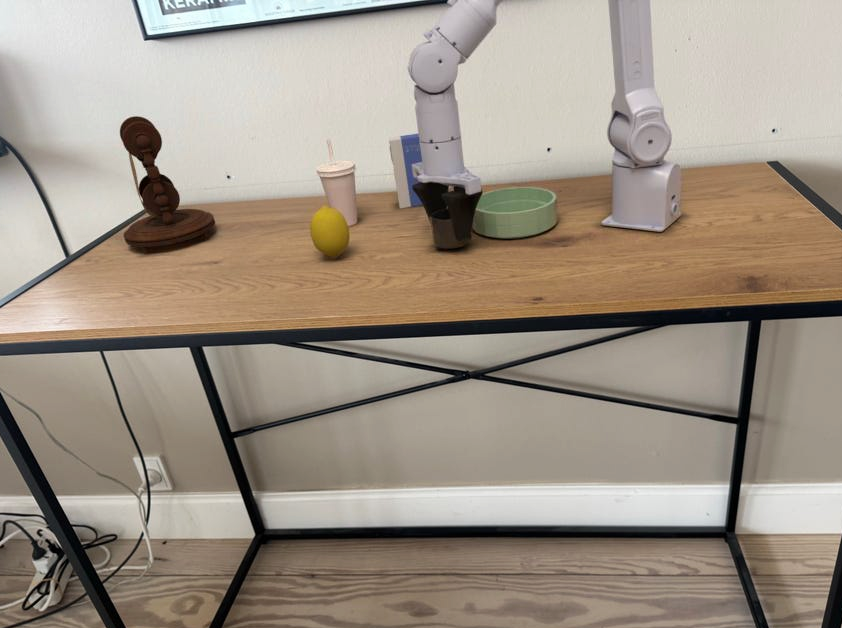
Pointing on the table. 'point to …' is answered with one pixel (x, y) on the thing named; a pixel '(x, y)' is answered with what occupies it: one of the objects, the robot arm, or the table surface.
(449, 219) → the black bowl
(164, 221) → the brown pulley stand
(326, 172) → the smoothie
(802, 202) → the table surface
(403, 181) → the walkman
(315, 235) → the lemon
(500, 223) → the sage bowl
